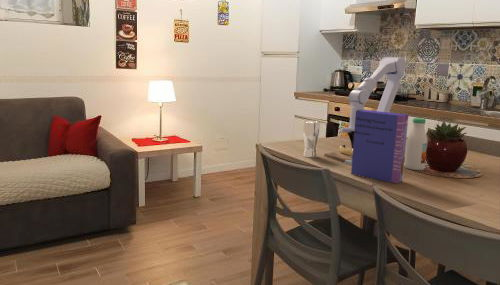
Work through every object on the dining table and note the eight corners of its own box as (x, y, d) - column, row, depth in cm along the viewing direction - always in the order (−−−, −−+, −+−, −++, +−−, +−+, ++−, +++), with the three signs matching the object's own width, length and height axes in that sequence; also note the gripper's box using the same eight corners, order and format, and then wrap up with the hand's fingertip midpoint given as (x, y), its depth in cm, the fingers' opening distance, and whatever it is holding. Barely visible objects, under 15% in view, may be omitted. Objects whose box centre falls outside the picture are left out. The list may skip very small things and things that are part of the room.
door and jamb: (356, 152, 203) (356, 143, 202) (399, 165, 180) (400, 155, 180) (324, 155, 194) (324, 146, 194) (365, 170, 172) (366, 159, 171)
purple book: (401, 181, 158) (408, 114, 153) (396, 183, 154) (403, 115, 150) (357, 172, 169) (362, 109, 164) (351, 174, 165) (356, 110, 161)
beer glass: (317, 158, 189) (320, 123, 187) (301, 157, 191) (303, 122, 188) (318, 154, 196) (320, 121, 193) (302, 153, 197) (304, 120, 195)
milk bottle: (414, 171, 172) (420, 120, 168) (399, 166, 179) (404, 117, 175) (428, 169, 176) (434, 119, 172) (413, 165, 183) (418, 116, 179)
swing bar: (361, 156, 188) (362, 148, 187) (355, 157, 186) (355, 149, 185) (343, 151, 198) (343, 143, 197) (336, 151, 196) (337, 144, 196)
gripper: (347, 119, 186) (344, 151, 188) (376, 118, 190) (373, 149, 193) (338, 116, 192) (336, 147, 195) (367, 116, 197) (364, 146, 199)
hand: (354, 148), depth 194 cm, fingers closed
